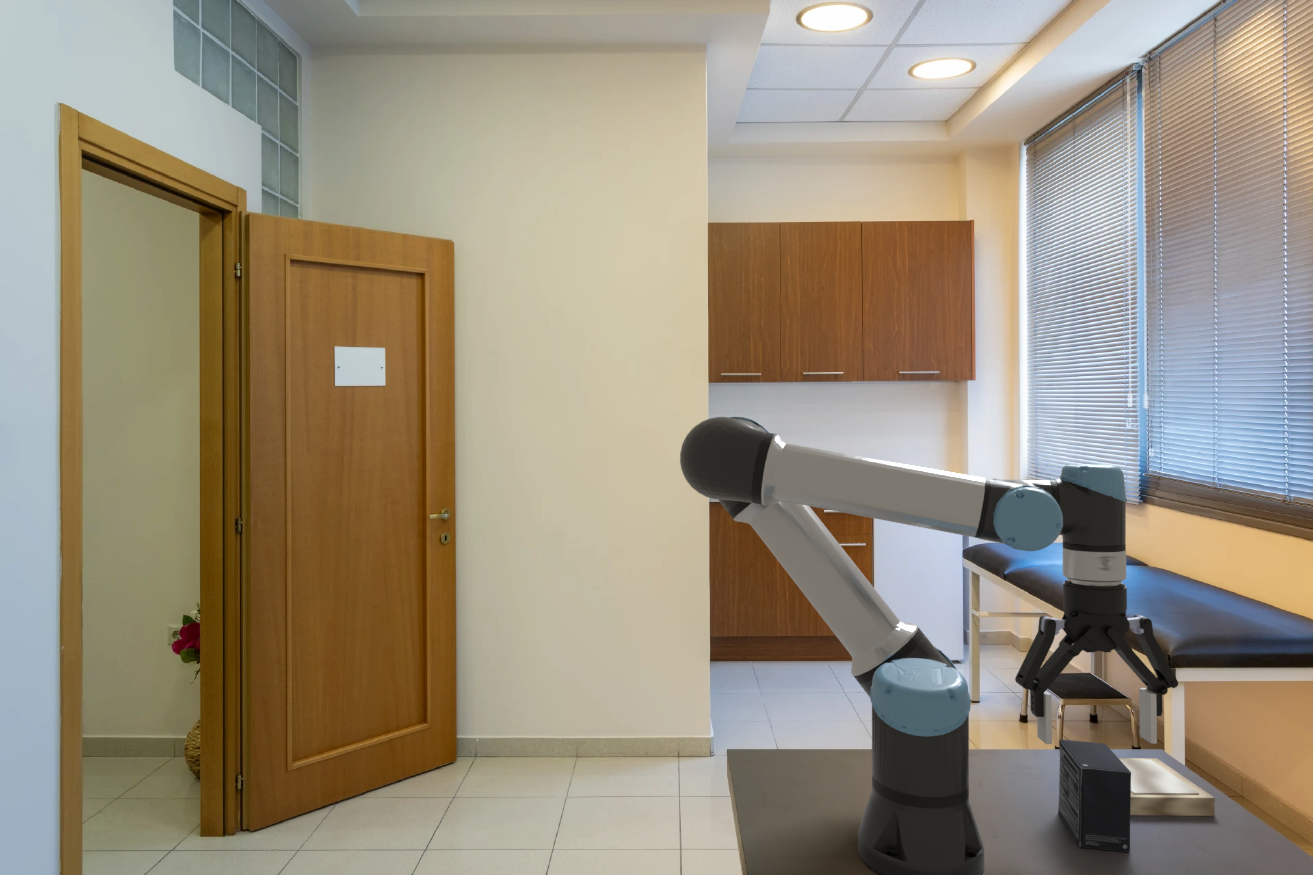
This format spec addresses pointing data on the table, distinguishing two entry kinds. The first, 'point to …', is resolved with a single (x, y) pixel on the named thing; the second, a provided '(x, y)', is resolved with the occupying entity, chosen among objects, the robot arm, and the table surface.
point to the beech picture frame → (1164, 791)
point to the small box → (1094, 795)
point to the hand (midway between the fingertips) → (1096, 740)
